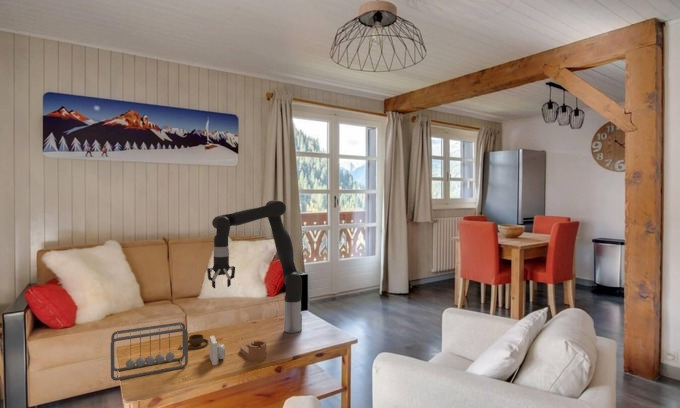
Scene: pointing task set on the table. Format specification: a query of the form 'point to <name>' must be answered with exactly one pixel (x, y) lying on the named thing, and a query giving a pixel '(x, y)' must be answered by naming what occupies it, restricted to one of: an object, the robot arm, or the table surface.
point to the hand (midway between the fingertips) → (221, 287)
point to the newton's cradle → (150, 359)
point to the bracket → (254, 350)
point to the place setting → (196, 341)
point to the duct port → (216, 351)
